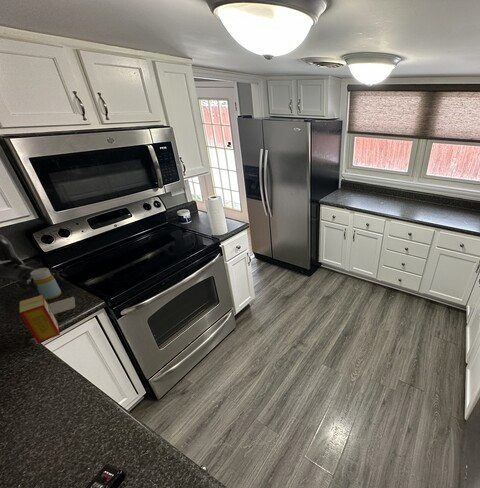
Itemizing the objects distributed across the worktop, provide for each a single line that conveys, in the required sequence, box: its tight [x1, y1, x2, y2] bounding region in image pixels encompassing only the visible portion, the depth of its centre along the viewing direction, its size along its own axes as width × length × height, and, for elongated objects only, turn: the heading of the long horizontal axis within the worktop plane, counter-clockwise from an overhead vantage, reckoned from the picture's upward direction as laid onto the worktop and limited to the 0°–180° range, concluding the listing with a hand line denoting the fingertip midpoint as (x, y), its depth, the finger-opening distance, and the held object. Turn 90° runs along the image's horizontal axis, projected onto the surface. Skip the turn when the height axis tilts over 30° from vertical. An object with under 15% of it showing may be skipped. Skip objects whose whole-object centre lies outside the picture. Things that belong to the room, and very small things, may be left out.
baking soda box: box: [19, 294, 61, 344], centre depth 107 cm, size 10×6×16 cm
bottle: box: [30, 267, 62, 301], centre depth 129 cm, size 7×7×15 cm
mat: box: [47, 296, 76, 316], centre depth 125 cm, size 12×11×1 cm
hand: (46, 282), depth 128 cm, fingers open, 8 cm apart
